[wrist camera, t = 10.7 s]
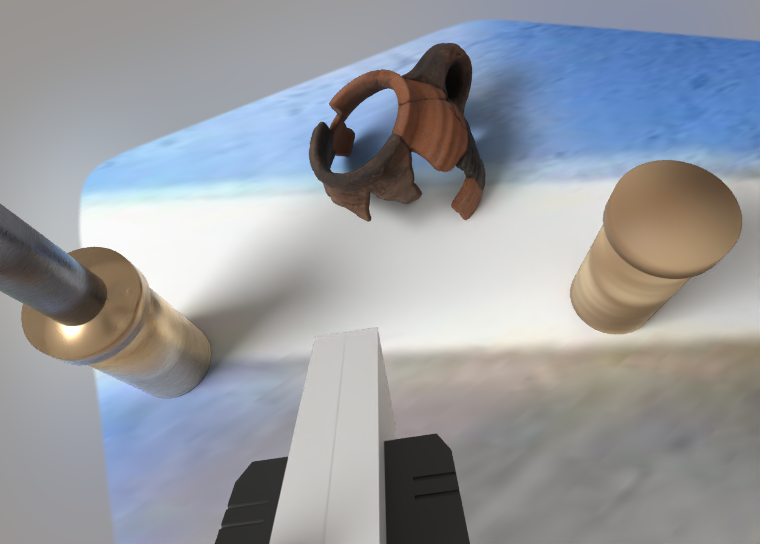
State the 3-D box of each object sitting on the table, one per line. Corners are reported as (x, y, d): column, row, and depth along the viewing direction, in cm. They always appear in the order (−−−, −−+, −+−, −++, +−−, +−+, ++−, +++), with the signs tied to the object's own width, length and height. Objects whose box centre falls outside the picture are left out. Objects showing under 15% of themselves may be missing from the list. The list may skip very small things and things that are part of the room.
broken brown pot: (463, 268, 33) (382, 210, 27) (356, 237, 39) (271, 185, 33) (539, 91, 34) (477, -3, 28) (423, 88, 41) (352, 11, 34)
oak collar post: (678, 305, 30) (770, 221, 22) (609, 357, 29) (677, 290, 21) (612, 240, 32) (673, 140, 24) (545, 287, 31) (584, 200, 23)
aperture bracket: (474, 211, 34) (527, -249, 14) (151, 421, 30) (-409, 212, 10) (385, 113, 38) (326, -358, 18) (89, 290, 34) (-407, -51, 14)
